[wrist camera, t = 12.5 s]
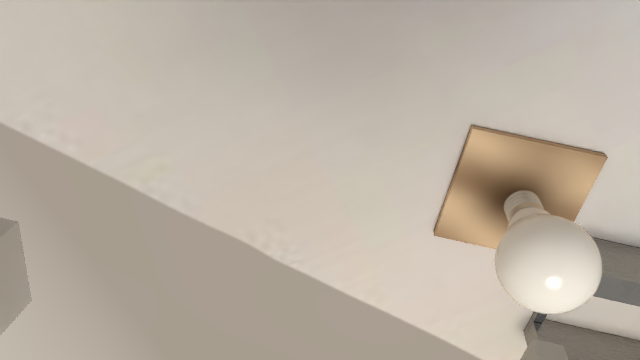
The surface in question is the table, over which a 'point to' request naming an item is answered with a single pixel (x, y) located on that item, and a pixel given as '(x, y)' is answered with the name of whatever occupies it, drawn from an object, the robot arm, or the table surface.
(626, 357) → the housing
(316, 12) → the table surface
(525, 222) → the lightbulb
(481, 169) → the cork pad
